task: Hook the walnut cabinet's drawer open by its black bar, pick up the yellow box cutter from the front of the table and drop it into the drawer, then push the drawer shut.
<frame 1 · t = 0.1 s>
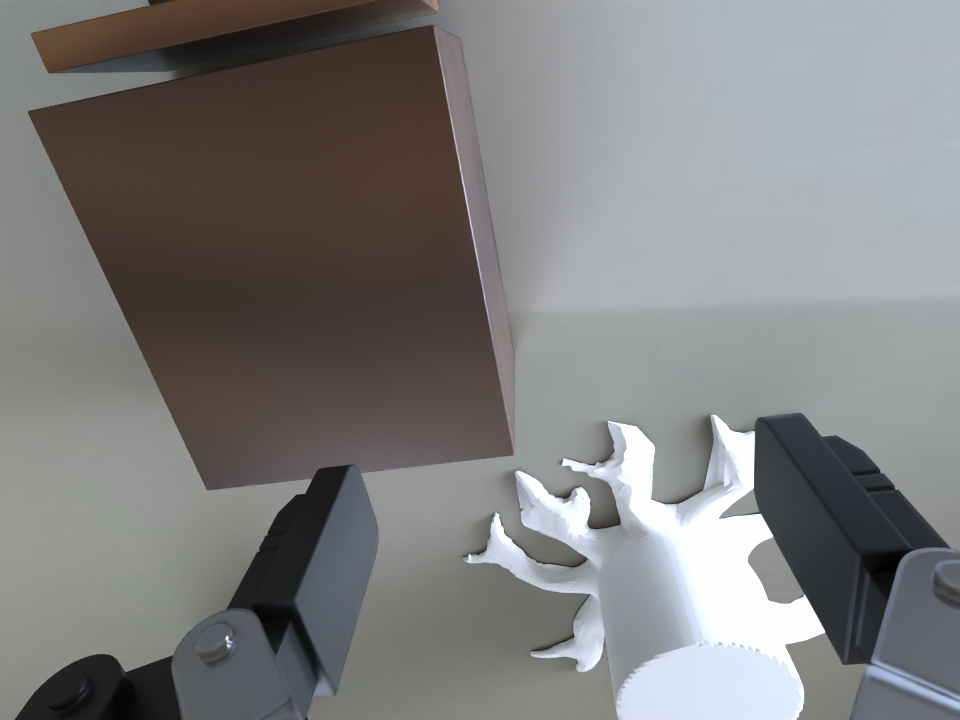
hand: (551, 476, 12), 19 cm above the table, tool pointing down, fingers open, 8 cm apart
white tree stump: (661, 571, 39), on the table
drawer: (295, 141, 24), point 5 cm above the table, slide at 1.0 cm
cabinet: (358, 238, 30), on the table
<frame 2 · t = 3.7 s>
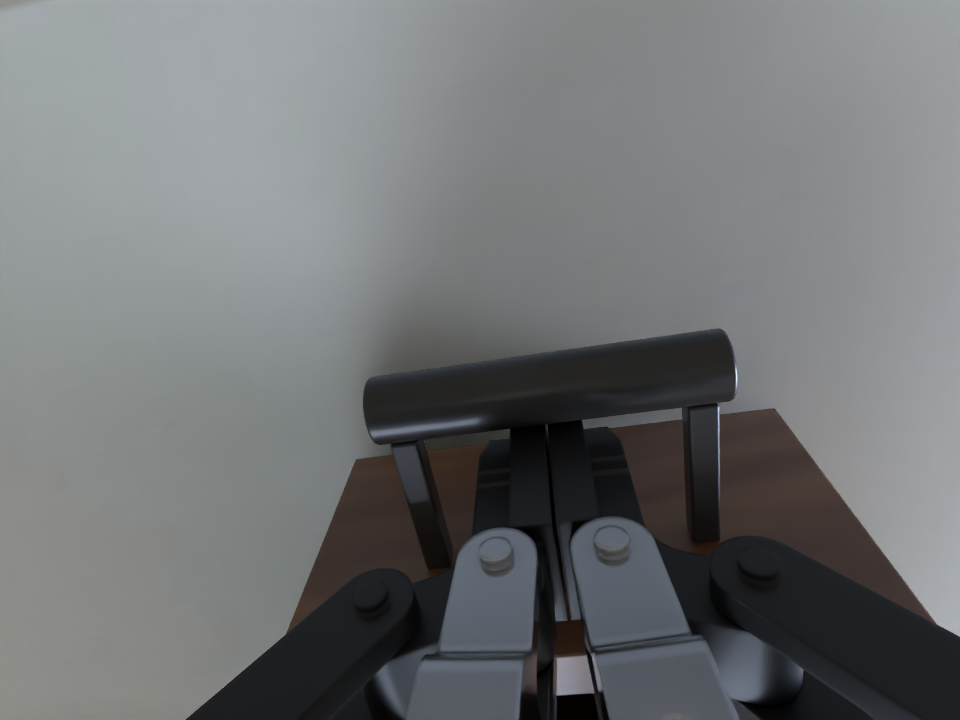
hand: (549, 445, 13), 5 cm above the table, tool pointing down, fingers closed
drawer: (585, 651, 16), point 5 cm above the table, slide at 2.0 cm, touching gripper
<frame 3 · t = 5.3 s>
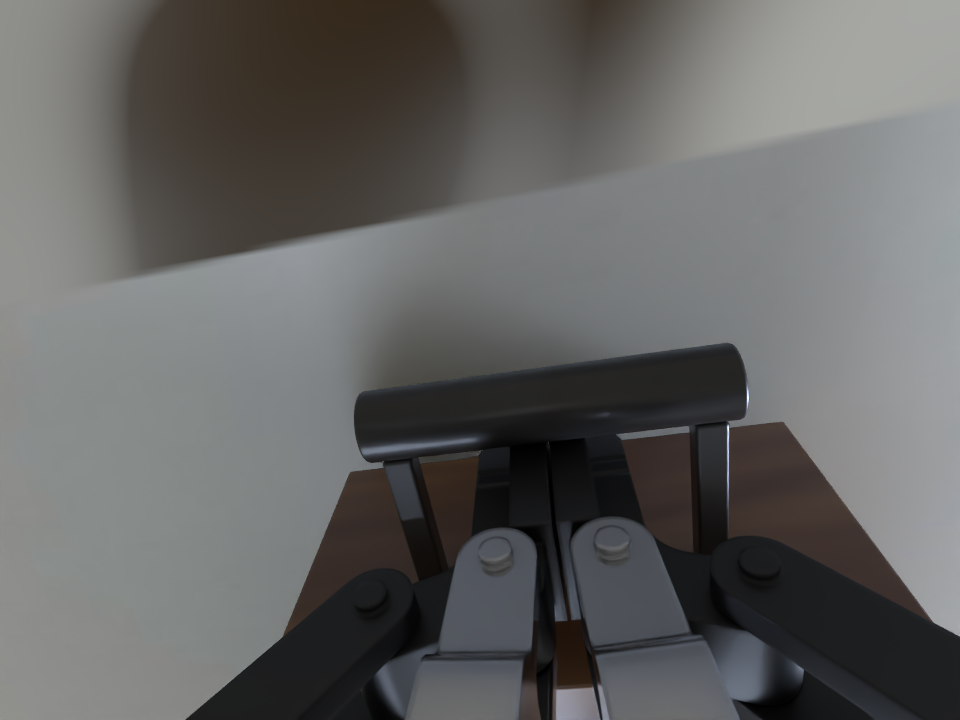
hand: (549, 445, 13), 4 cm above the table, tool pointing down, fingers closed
drawer: (586, 674, 16), point 5 cm above the table, slide at 8.8 cm, touching gripper
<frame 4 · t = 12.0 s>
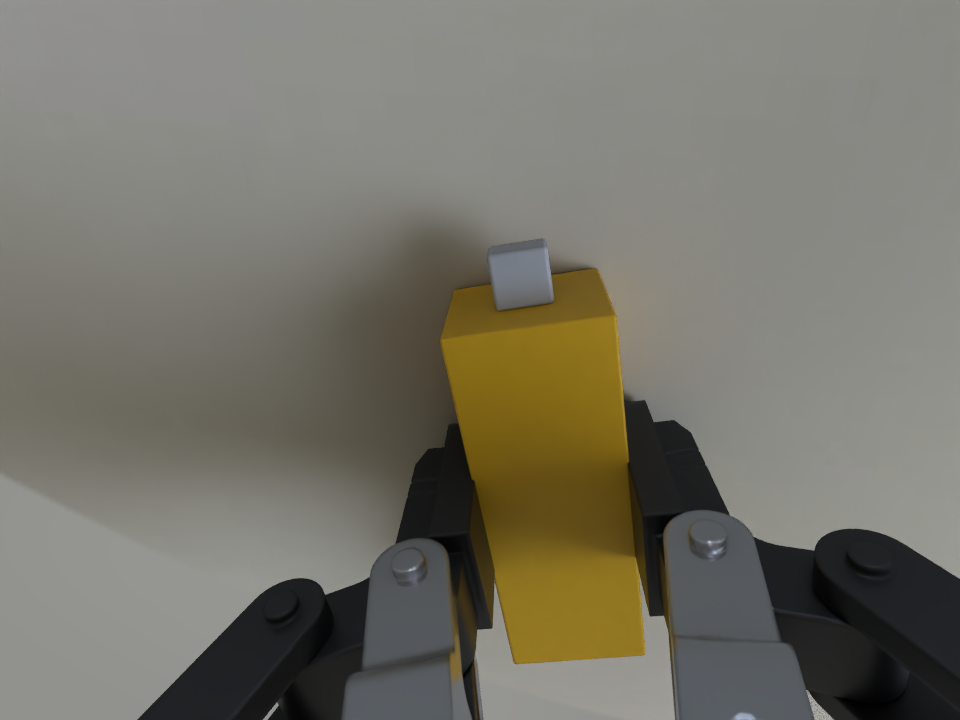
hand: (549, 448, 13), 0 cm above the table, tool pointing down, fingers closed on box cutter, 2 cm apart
box cutter: (550, 445, 13), on the table, touching gripper
when the fingers open (10 cm above the table, at t = 18.4 s): box cutter drops 6 cm, resting on drawer.
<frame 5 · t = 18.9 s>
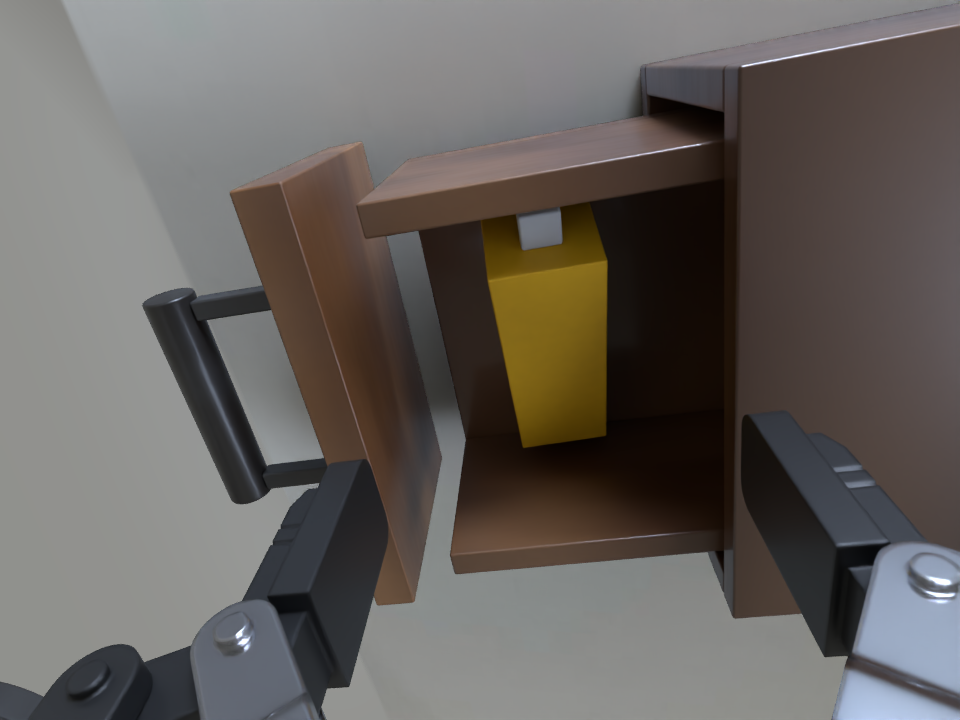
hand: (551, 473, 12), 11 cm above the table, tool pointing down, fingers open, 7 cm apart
box cutter: (545, 311, 18), point 4 cm above the table, tilted 25°, touching drawer
drawer: (503, 348, 18), point 5 cm above the table, slide at 8.9 cm, touching box cutter
cabinet: (884, 239, 20), on the table
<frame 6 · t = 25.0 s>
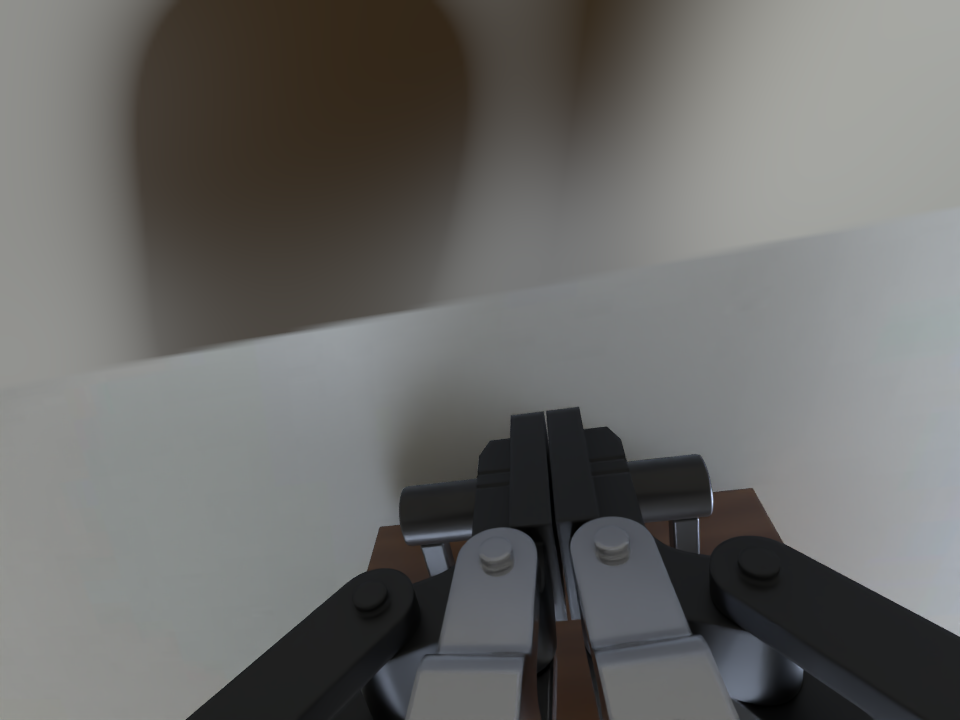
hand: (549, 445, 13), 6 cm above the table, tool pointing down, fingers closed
drawer: (584, 704, 19), point 5 cm above the table, slide at 8.3 cm, touching box cutter
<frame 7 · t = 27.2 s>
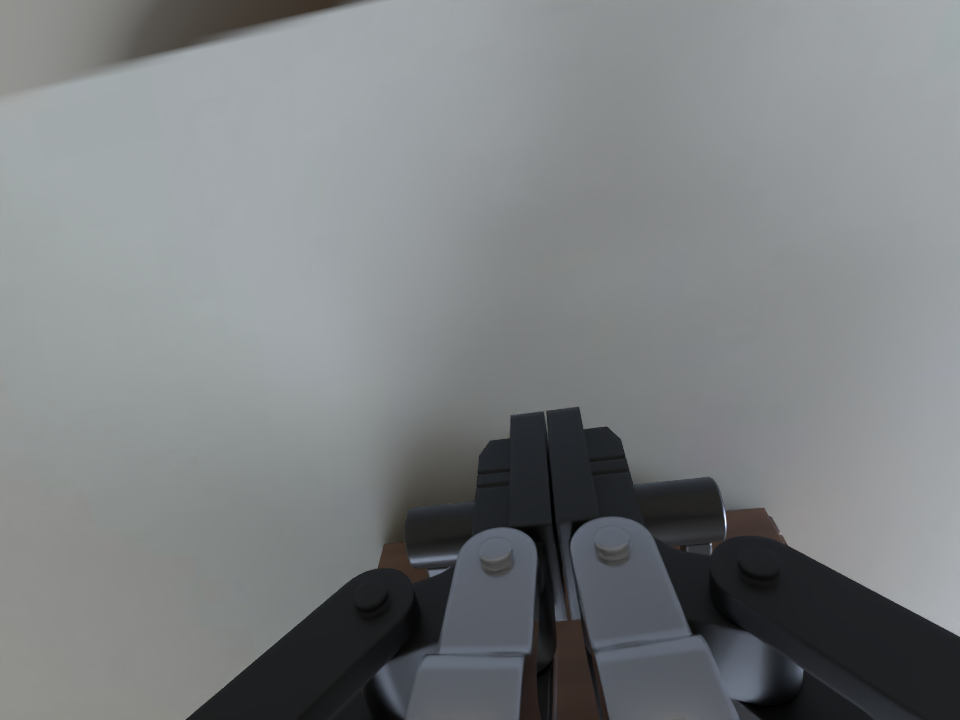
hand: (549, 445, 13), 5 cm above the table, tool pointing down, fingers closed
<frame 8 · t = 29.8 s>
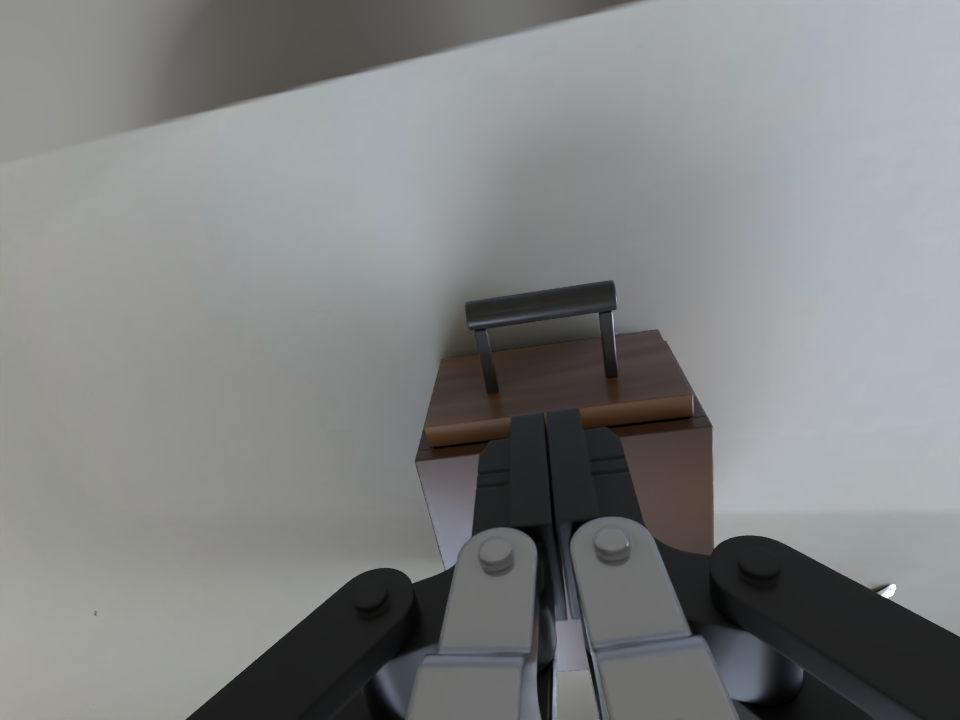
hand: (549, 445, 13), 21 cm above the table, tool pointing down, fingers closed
drawer: (561, 450, 33), point 5 cm above the table, slide at 0.0 cm, touching box cutter
cabinet: (564, 462, 39), on the table
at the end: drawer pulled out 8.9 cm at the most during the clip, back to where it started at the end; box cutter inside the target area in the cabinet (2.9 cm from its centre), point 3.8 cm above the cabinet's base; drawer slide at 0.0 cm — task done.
